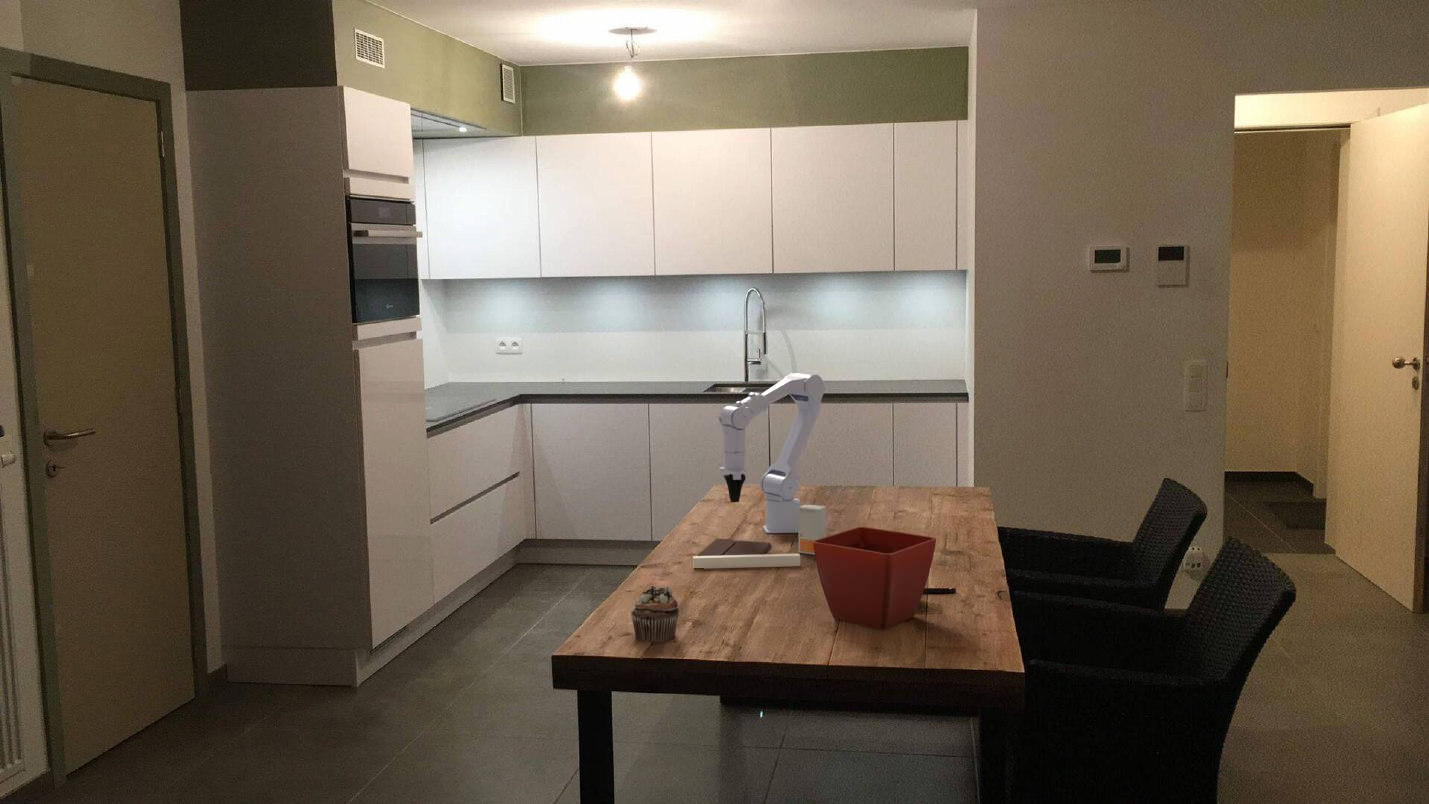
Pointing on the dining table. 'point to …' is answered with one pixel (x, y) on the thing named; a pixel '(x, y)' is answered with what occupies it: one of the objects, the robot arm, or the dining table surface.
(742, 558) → the bar
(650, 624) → the cupcake
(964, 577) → the dining table surface
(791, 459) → the robot arm
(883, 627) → the plant pot
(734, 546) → the notebook
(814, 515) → the skincare box
